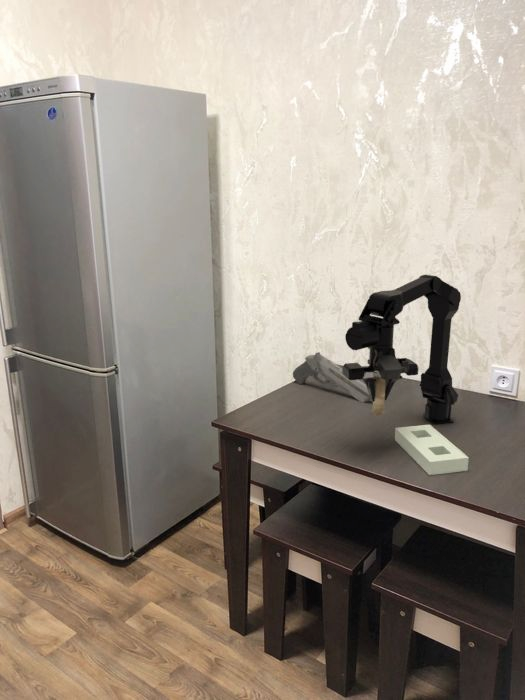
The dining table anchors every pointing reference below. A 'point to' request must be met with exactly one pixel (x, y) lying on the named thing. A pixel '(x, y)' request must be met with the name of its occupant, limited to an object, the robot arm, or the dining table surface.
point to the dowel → (379, 396)
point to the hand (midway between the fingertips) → (378, 400)
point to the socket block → (431, 449)
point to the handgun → (330, 376)
